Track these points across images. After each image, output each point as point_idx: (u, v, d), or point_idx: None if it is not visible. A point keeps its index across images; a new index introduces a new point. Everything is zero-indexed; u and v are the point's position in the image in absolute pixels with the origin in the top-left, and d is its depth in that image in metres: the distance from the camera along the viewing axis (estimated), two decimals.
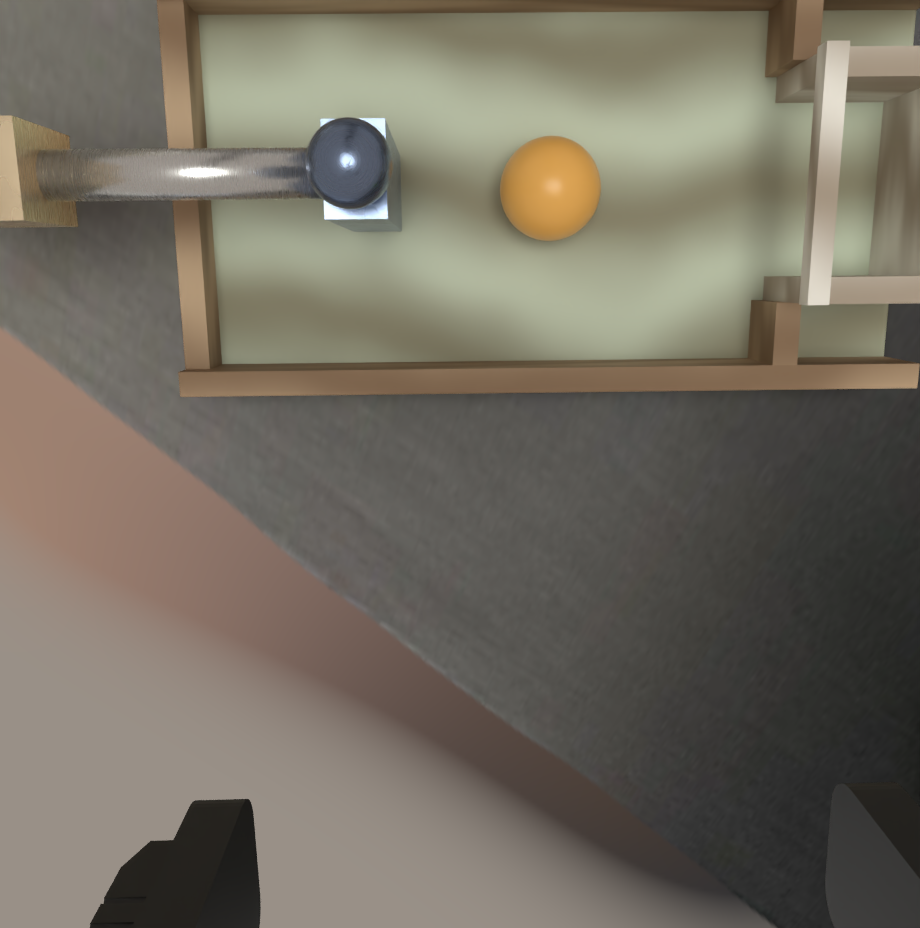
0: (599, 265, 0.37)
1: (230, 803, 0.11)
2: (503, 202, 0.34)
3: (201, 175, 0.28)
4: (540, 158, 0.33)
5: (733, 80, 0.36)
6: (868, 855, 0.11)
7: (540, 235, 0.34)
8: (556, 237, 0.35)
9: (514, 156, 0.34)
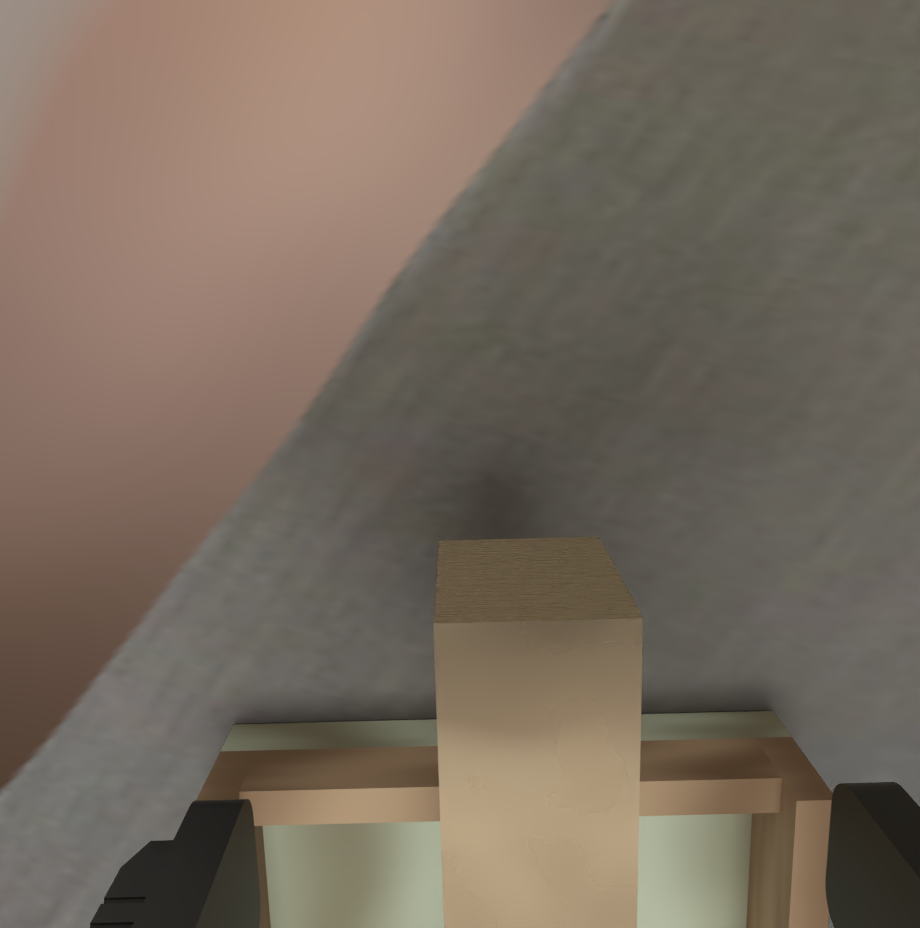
0: None
1: (230, 803, 0.11)
2: None
3: None
4: None
5: None
6: (868, 855, 0.11)
7: None
8: None
9: None
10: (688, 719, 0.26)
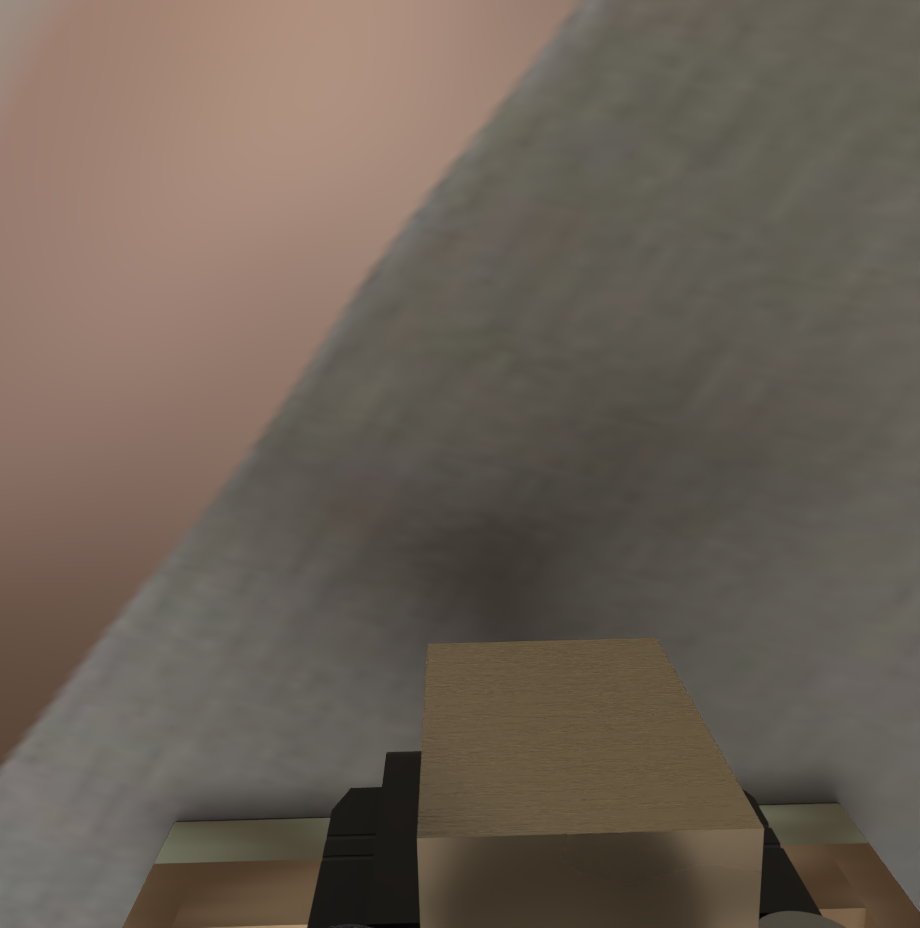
0: None
1: None
2: None
3: None
4: None
5: None
6: None
7: None
8: None
9: None
10: None
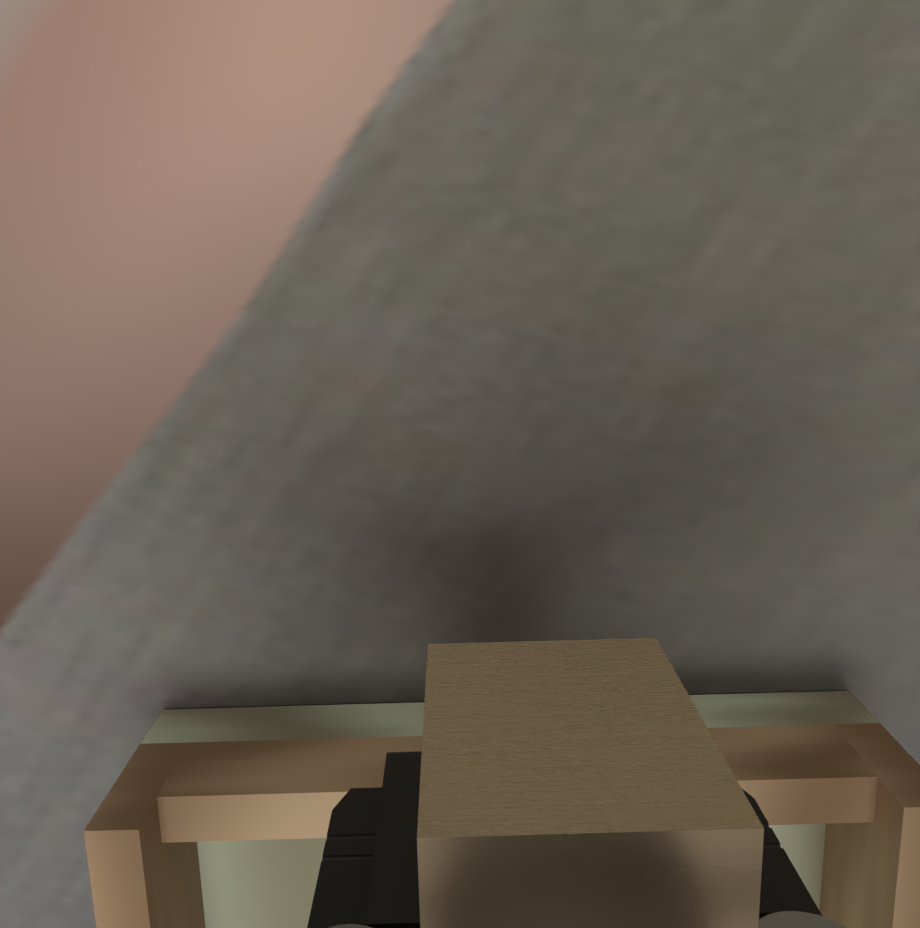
0: None
1: None
2: None
3: None
4: None
5: None
6: None
7: None
8: None
9: None
10: (743, 701, 0.20)
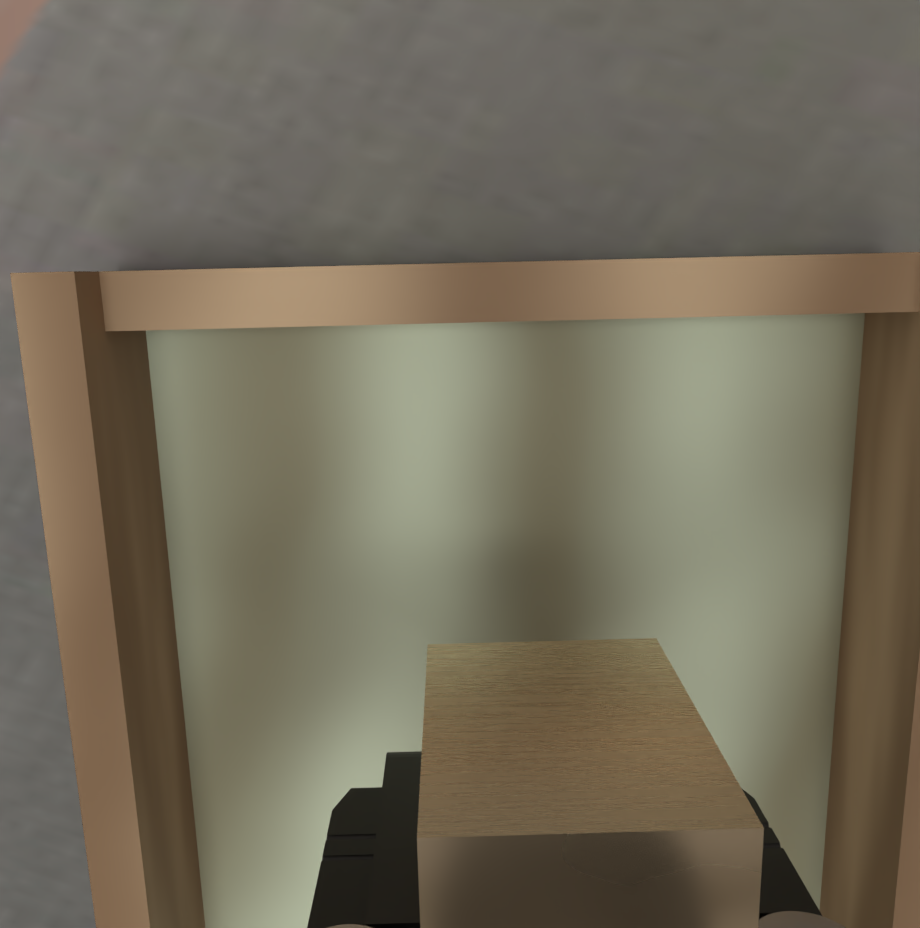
0: None
1: None
2: None
3: None
4: None
5: None
6: None
7: None
8: None
9: None
10: None
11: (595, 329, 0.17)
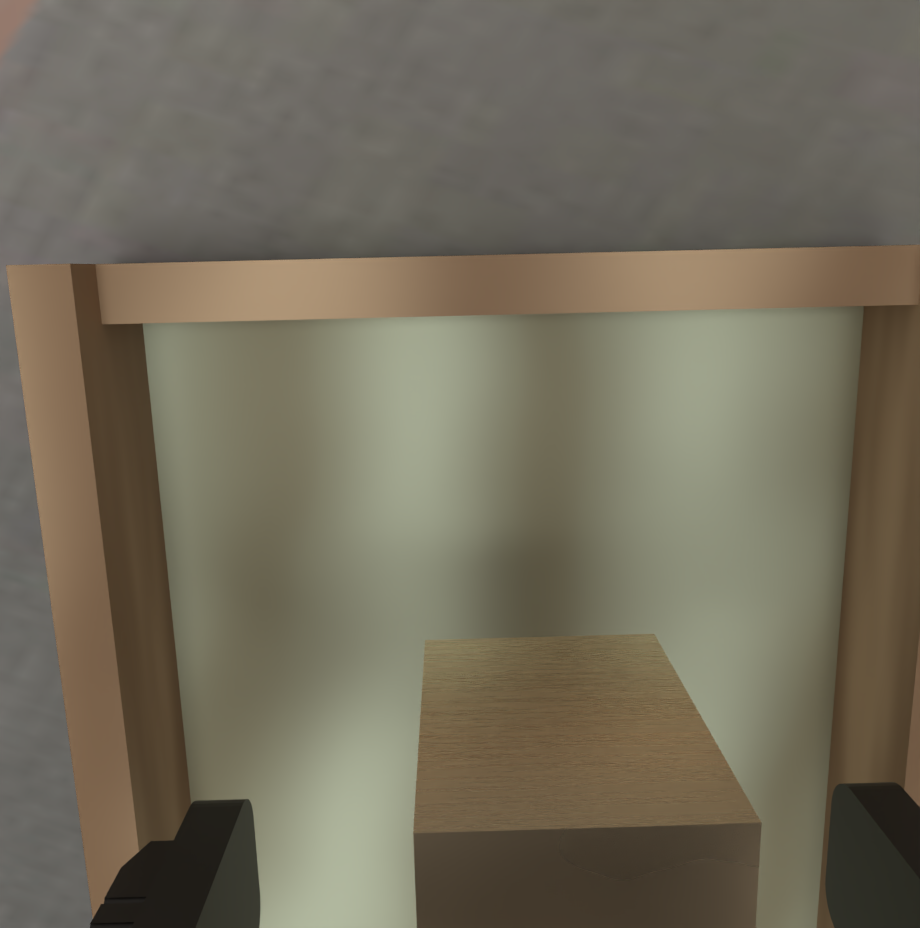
0: None
1: (230, 803, 0.11)
2: None
3: None
4: None
5: None
6: (868, 855, 0.11)
7: None
8: None
9: None
10: None
11: (593, 323, 0.17)
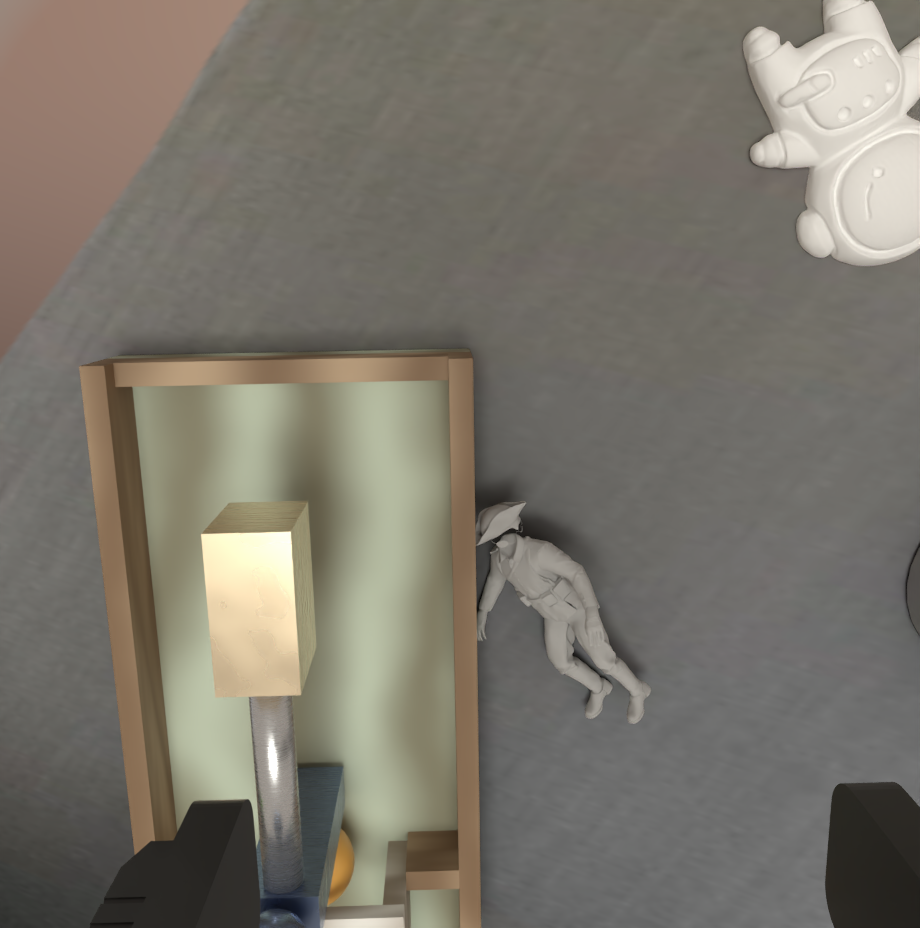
0: (249, 715, 0.42)
1: (230, 803, 0.11)
2: None
3: (270, 805, 0.33)
4: None
5: (404, 809, 0.44)
6: (868, 855, 0.11)
7: None
8: None
9: None
10: (412, 350, 0.40)
11: (330, 383, 0.39)
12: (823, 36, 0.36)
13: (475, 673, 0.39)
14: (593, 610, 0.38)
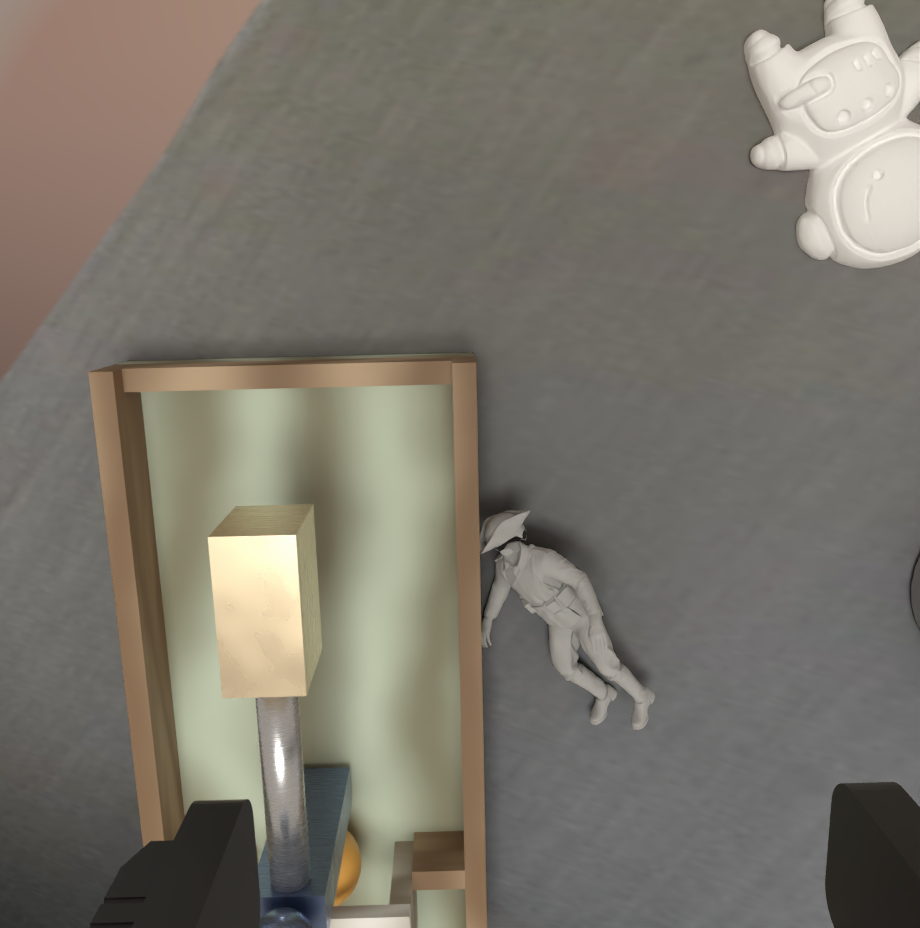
0: None
1: (230, 803, 0.11)
2: None
3: (277, 805, 0.33)
4: None
5: (411, 809, 0.44)
6: (868, 855, 0.11)
7: None
8: None
9: None
10: (417, 354, 0.40)
11: (335, 388, 0.39)
12: (823, 39, 0.37)
13: (480, 674, 0.39)
14: (596, 618, 0.38)
